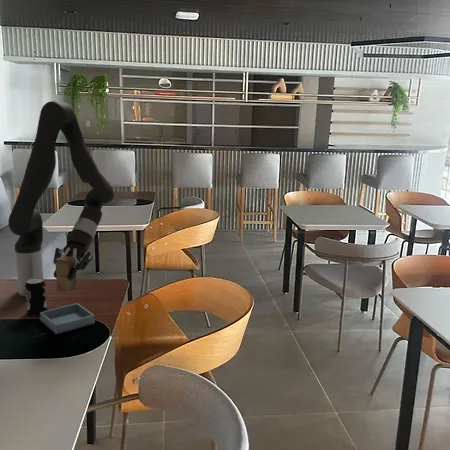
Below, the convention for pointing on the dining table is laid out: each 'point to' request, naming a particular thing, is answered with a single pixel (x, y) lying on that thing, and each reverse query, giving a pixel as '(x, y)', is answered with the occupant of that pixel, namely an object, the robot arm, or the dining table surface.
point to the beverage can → (35, 296)
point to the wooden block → (64, 274)
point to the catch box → (67, 318)
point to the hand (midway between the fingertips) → (62, 278)
